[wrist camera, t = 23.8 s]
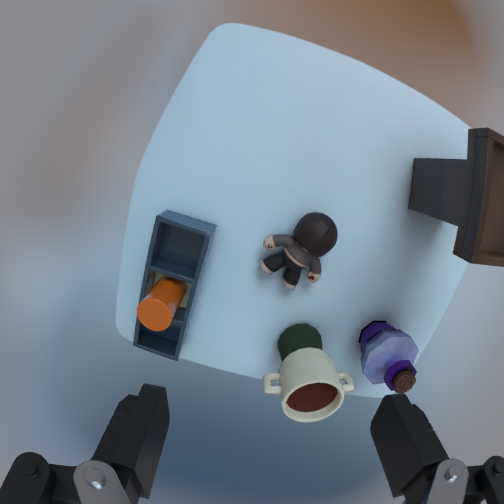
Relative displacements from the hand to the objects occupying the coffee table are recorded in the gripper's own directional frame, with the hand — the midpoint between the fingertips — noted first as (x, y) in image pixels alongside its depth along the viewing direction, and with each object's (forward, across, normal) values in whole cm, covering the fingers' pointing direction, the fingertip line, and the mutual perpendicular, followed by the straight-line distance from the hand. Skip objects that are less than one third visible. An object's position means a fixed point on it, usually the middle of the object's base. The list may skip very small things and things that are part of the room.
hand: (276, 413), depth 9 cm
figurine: (+28, -5, +1) cm, 29 cm away
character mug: (+28, -7, +15) cm, 33 cm away
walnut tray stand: (+28, -23, -9) cm, 37 cm away
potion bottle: (+28, -19, +14) cm, 37 cm away
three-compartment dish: (+28, +11, +8) cm, 31 cm away
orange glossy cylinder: (+27, +11, +8) cm, 30 cm away
